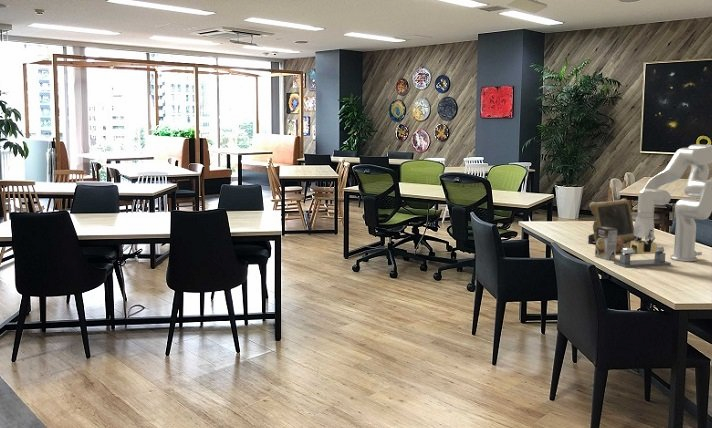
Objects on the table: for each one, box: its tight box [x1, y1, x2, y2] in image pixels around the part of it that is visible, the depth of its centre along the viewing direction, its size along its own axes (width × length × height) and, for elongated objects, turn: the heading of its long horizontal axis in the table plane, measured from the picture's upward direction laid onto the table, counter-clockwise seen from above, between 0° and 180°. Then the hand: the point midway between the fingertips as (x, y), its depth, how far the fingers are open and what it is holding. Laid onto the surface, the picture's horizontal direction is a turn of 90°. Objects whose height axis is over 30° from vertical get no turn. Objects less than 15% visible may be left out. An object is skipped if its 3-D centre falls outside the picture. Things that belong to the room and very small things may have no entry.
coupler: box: [629, 239, 657, 255], centre depth 330 cm, size 10×6×6 cm, turn 103°
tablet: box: [587, 198, 635, 245], centre depth 389 cm, size 33×14×25 cm, turn 127°
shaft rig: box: [613, 246, 672, 268], centre depth 330 cm, size 26×9×8 cm, turn 103°
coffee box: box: [594, 226, 618, 261], centre depth 345 cm, size 9×6×16 cm
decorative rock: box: [616, 235, 625, 253], centre depth 362 cm, size 13×11×10 cm
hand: (642, 250), depth 330 cm, fingers closed on coupler, 6 cm apart
